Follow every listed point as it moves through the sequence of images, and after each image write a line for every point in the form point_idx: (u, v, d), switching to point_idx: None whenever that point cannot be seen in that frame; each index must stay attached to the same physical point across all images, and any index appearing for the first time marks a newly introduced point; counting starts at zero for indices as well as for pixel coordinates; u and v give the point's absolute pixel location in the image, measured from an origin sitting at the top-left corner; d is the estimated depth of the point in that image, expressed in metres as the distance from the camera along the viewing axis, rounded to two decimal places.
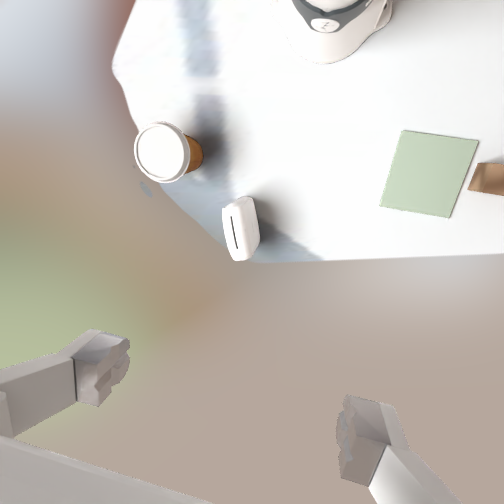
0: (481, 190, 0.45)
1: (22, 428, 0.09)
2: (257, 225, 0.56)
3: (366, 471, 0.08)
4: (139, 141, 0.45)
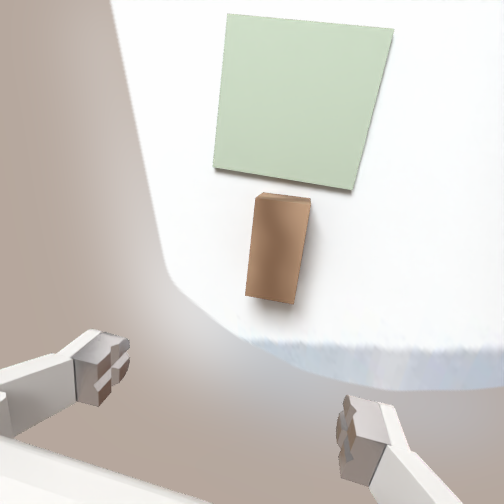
0: (259, 197, 0.23)
1: (23, 428, 0.09)
2: None
3: (366, 471, 0.08)
4: None
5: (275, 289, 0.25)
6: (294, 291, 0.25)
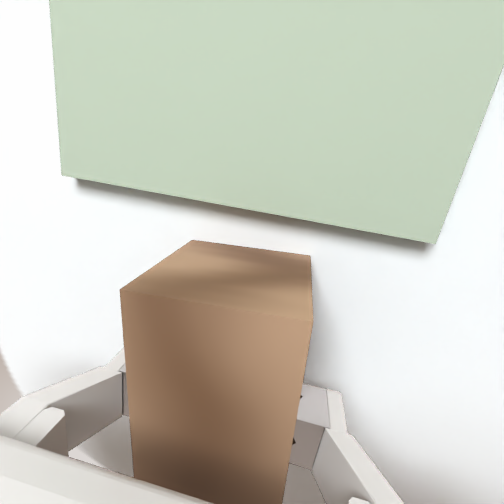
0: (137, 286, 0.07)
1: (72, 443, 0.08)
2: None
3: (310, 455, 0.09)
4: None
5: None
6: None
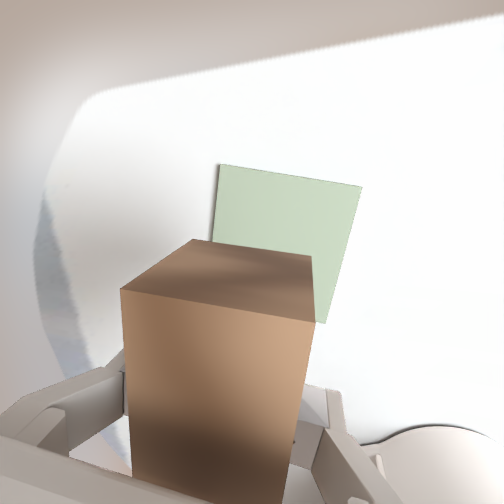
0: (138, 285, 0.07)
1: (73, 444, 0.08)
2: None
3: (309, 455, 0.09)
4: None
5: None
6: None
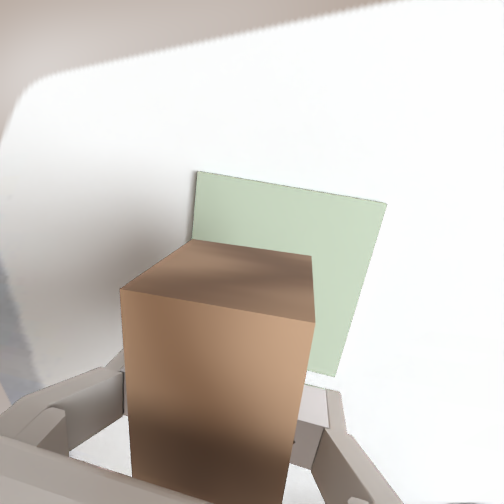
0: (138, 285, 0.07)
1: (73, 444, 0.08)
2: None
3: (309, 455, 0.09)
4: None
5: None
6: None
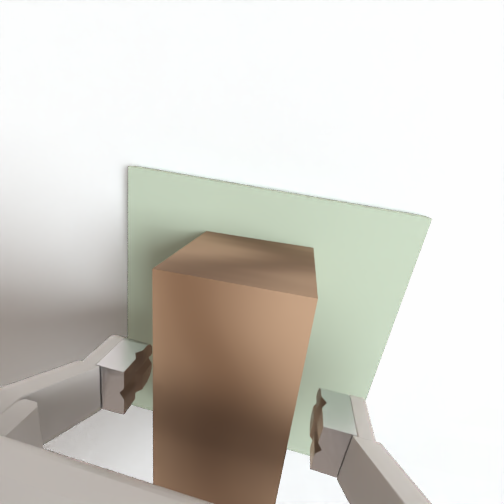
0: (166, 266, 0.08)
1: (49, 436, 0.08)
2: None
3: (335, 462, 0.08)
4: None
5: (224, 487, 0.10)
6: (272, 498, 0.10)
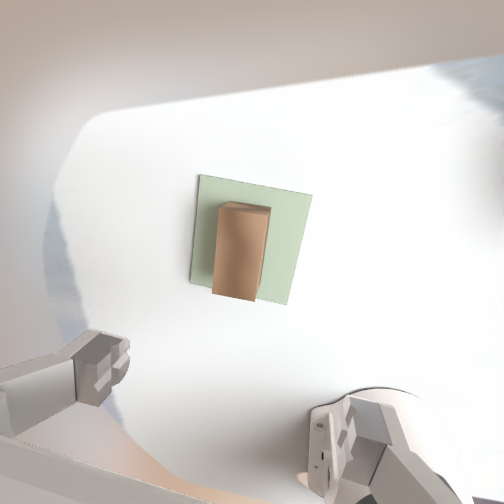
0: (222, 208, 0.26)
1: (22, 428, 0.09)
2: None
3: (366, 471, 0.08)
4: None
5: (238, 288, 0.29)
6: (254, 290, 0.28)
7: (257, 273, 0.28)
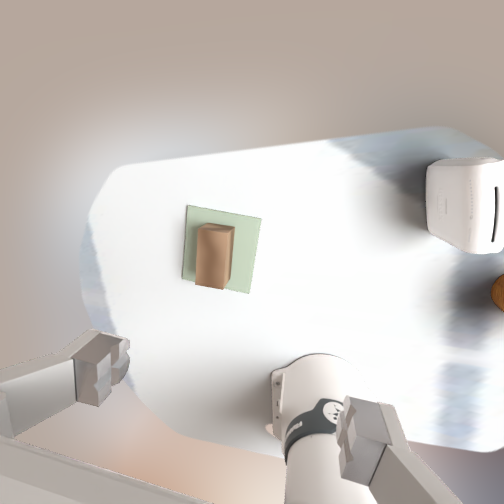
0: (200, 228, 0.41)
1: (22, 428, 0.09)
2: (429, 195, 0.37)
3: (366, 471, 0.08)
4: None
5: (212, 280, 0.43)
6: (222, 282, 0.43)
7: (224, 270, 0.42)
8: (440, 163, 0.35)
